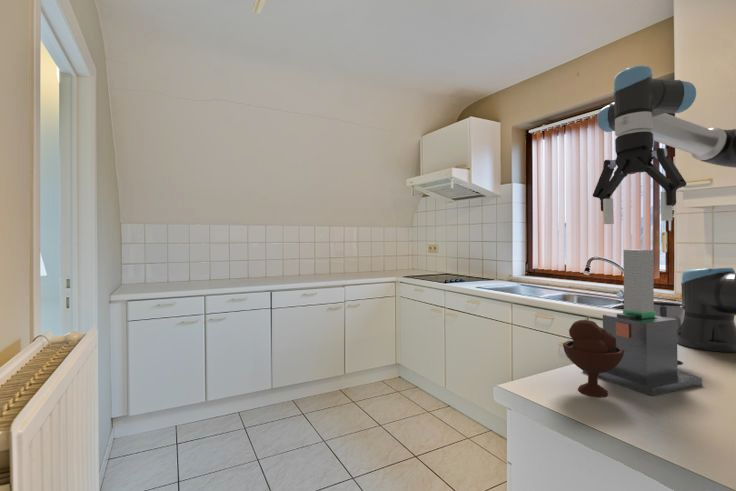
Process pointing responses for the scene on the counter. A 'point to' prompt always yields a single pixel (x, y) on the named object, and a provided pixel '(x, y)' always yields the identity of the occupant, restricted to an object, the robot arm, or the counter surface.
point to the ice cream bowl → (592, 353)
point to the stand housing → (647, 354)
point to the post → (639, 284)
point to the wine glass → (671, 313)
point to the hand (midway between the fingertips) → (635, 222)
